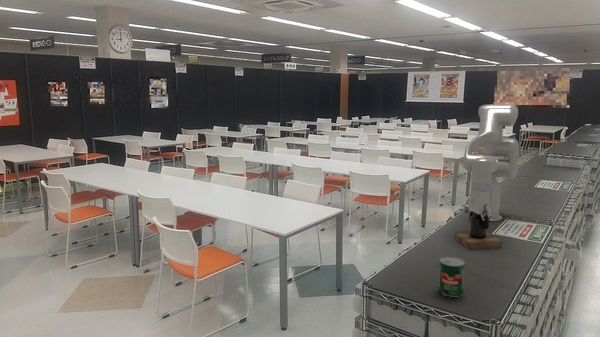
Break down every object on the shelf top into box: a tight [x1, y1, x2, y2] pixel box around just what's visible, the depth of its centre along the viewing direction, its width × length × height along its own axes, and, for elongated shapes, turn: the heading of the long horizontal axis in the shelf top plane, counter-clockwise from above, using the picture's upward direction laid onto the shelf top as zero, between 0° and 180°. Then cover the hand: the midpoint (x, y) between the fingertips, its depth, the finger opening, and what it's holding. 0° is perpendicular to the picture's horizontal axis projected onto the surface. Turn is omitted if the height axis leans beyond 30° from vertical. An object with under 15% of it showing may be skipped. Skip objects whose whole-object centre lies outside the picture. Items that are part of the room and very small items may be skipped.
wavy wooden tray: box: [454, 231, 503, 251], centre depth 182 cm, size 14×14×3 cm
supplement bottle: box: [469, 212, 488, 239], centre depth 181 cm, size 7×7×12 cm
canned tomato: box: [438, 256, 466, 297], centre depth 137 cm, size 8×8×11 cm
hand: (478, 225), depth 181 cm, fingers open, 9 cm apart
